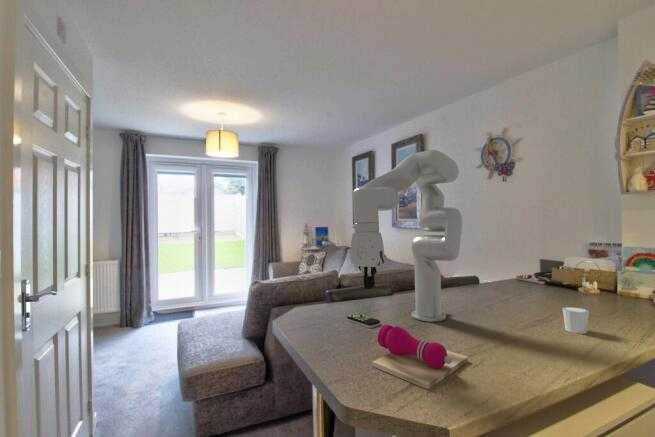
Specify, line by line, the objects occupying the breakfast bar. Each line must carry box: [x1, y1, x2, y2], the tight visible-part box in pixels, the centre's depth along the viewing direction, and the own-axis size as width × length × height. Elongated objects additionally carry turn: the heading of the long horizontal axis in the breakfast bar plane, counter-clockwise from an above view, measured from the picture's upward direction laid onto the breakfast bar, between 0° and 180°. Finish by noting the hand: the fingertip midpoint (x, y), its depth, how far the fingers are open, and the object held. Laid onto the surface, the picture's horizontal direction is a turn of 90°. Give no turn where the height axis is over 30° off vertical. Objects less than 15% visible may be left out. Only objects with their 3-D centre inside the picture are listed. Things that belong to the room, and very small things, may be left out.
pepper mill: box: [377, 323, 452, 368], centre depth 83 cm, size 7×7×20 cm
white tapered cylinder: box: [562, 306, 590, 335], centre depth 104 cm, size 7×7×7 cm
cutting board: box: [371, 349, 469, 390], centre depth 83 cm, size 20×16×1 cm
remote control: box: [346, 313, 381, 329], centre depth 117 cm, size 6×13×2 cm, turn 40°
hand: (369, 288), depth 97 cm, fingers closed
